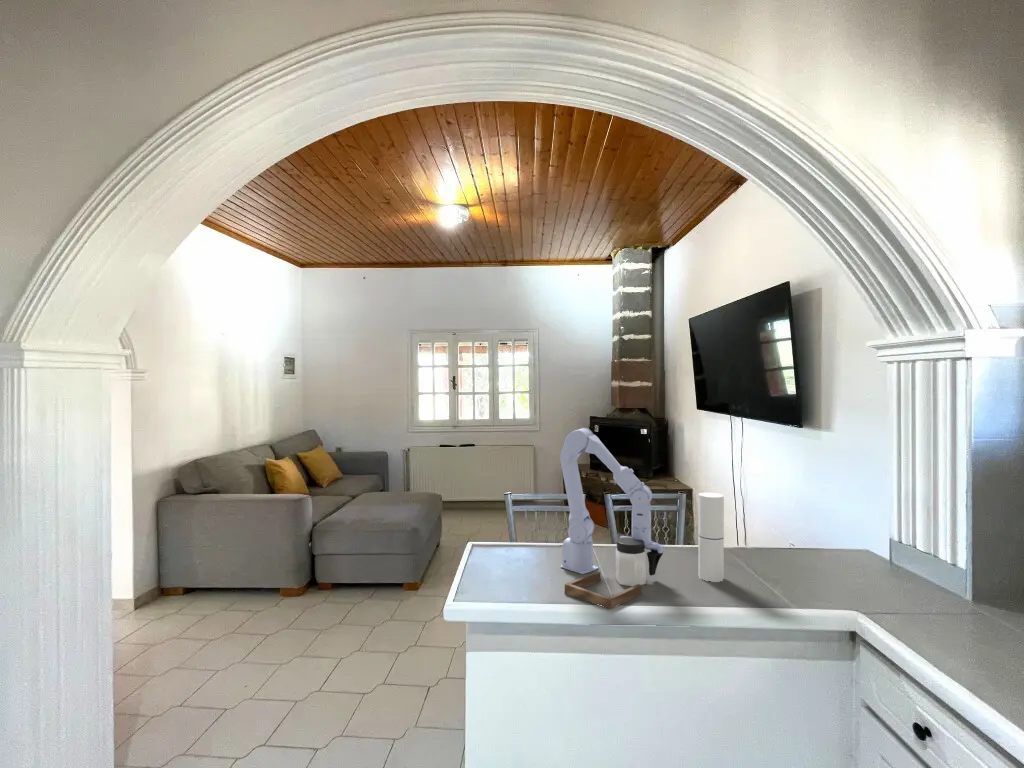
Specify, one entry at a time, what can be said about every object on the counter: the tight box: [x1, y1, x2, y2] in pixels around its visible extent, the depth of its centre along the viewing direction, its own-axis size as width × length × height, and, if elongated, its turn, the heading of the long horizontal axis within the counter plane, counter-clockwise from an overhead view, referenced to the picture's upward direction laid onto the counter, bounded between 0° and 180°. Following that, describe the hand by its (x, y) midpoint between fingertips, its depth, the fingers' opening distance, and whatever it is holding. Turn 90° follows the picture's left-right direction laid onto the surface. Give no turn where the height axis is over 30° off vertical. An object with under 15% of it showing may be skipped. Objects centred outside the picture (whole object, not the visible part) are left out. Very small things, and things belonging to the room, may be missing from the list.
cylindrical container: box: [697, 491, 725, 583], centre depth 166 cm, size 7×7×25 cm
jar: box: [615, 536, 647, 587], centre depth 163 cm, size 9×8×12 cm
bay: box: [564, 570, 643, 610], centre depth 154 cm, size 15×15×2 cm
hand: (641, 571), depth 167 cm, fingers open, 7 cm apart
